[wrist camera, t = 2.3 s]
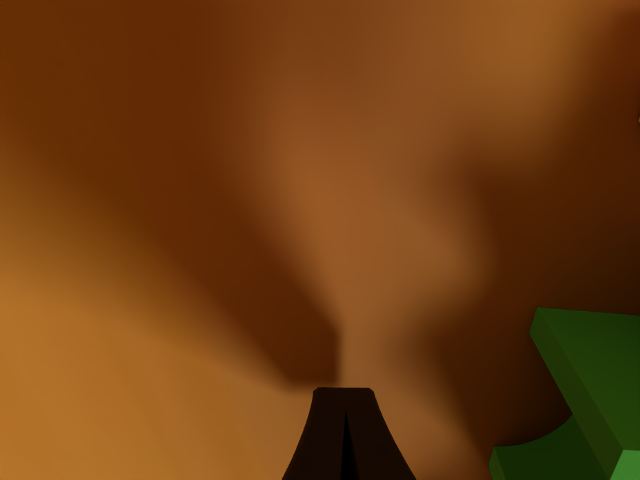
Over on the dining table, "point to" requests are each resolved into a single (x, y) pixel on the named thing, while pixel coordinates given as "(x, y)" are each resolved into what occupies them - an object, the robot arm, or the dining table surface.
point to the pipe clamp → (584, 400)
